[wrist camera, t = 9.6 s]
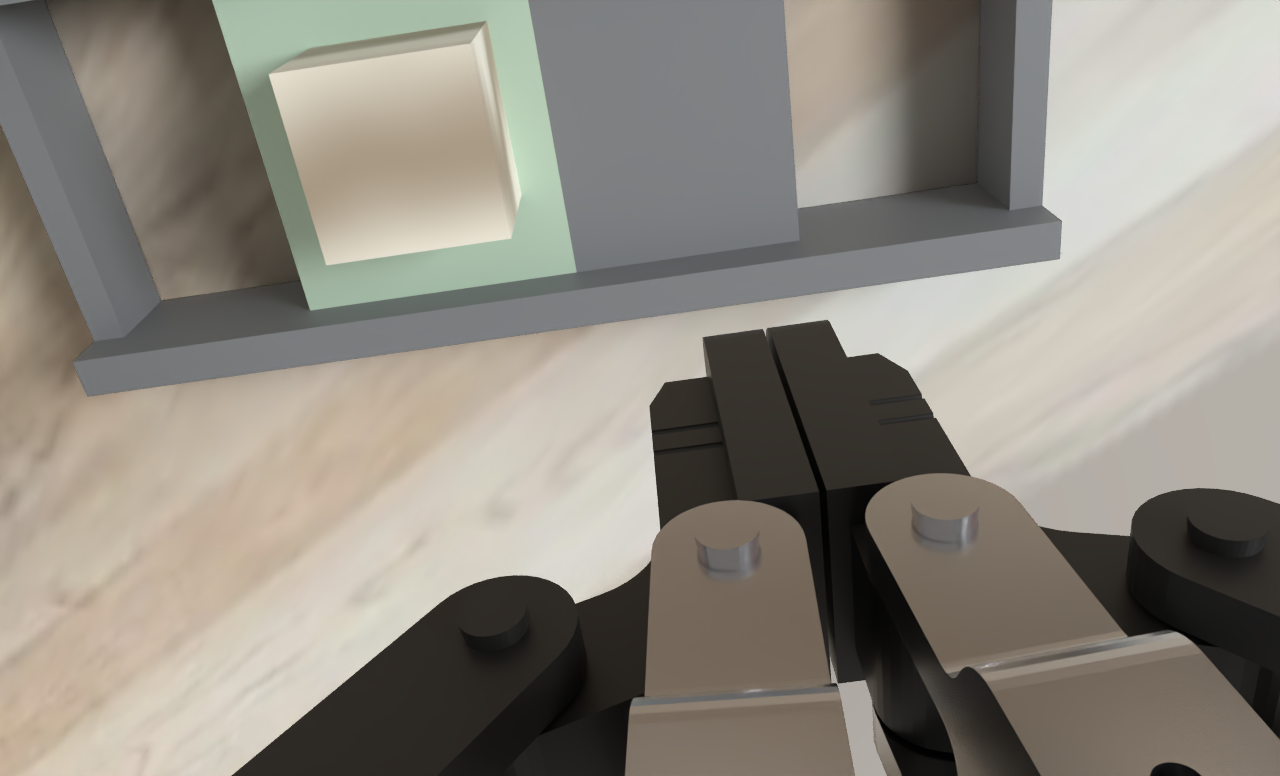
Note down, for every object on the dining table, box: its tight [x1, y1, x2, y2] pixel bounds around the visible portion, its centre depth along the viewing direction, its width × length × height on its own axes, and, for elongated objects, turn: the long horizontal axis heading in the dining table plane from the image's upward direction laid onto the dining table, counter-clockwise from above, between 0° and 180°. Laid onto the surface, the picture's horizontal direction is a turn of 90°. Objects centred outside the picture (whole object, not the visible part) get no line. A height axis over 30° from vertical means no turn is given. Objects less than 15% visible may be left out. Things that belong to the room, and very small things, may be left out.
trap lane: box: [0, 0, 1062, 396], centre depth 30 cm, size 12×30×4 cm, turn 98°
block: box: [269, 21, 521, 265], centre depth 27 cm, size 5×5×4 cm
